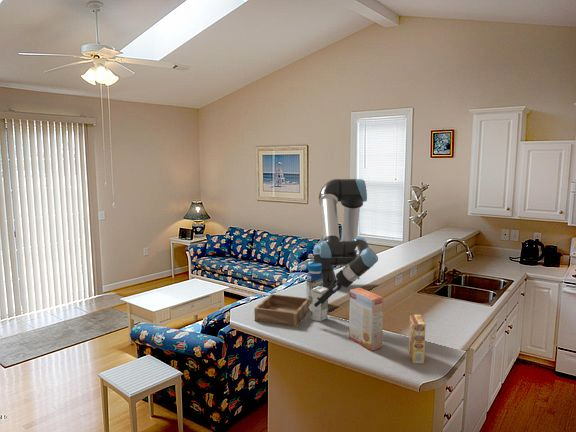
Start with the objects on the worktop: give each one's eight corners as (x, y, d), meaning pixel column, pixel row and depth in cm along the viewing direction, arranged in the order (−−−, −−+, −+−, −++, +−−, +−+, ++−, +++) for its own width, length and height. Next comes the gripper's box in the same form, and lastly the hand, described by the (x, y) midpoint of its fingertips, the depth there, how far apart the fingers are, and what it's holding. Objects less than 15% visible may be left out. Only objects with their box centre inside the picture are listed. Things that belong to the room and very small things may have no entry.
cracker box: (382, 348, 165) (384, 296, 162) (370, 351, 162) (372, 299, 159) (359, 334, 177) (360, 286, 174) (348, 337, 174) (349, 289, 171)
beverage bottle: (319, 299, 218) (320, 261, 215) (325, 305, 210) (325, 265, 207) (304, 300, 216) (304, 262, 213) (308, 306, 208) (309, 266, 205)
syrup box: (317, 315, 198) (317, 285, 195) (328, 318, 194) (328, 288, 192) (310, 319, 193) (310, 288, 191) (321, 322, 190) (321, 291, 187)
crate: (271, 305, 210) (271, 293, 209) (310, 310, 203) (310, 298, 202) (254, 320, 192) (254, 308, 191) (296, 327, 185) (296, 314, 184)
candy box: (424, 364, 153) (426, 324, 150) (412, 363, 153) (414, 323, 151) (419, 352, 161) (421, 314, 159) (408, 352, 162) (409, 314, 159)
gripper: (347, 291, 174) (312, 320, 181) (359, 274, 197) (327, 301, 204) (335, 277, 175) (300, 307, 182) (347, 262, 198) (317, 289, 205)
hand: (314, 304), depth 193 cm, fingers open, 13 cm apart
